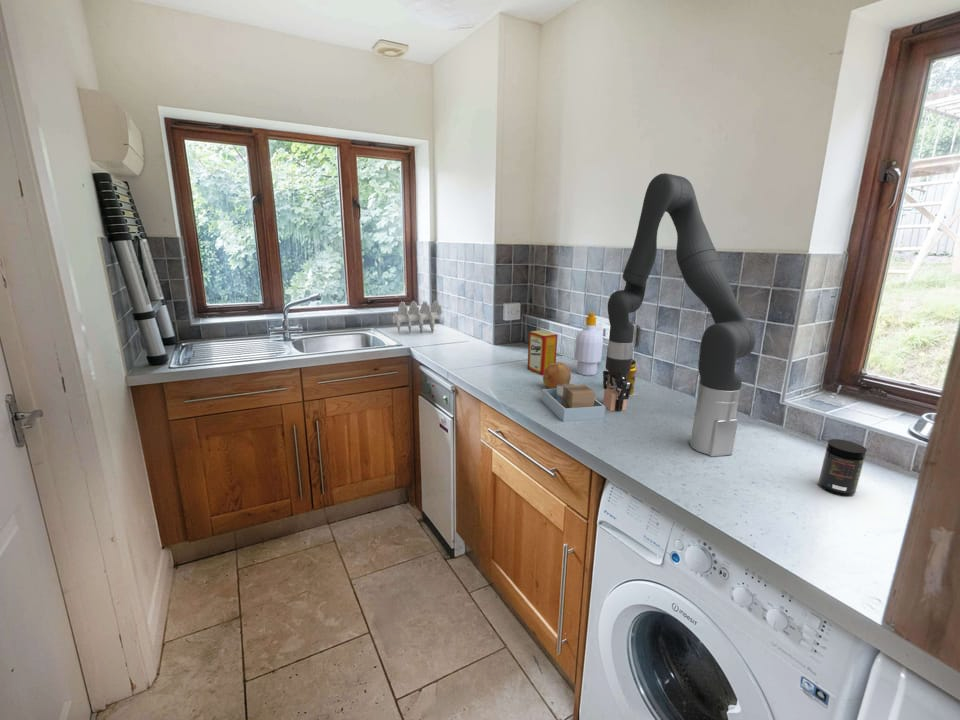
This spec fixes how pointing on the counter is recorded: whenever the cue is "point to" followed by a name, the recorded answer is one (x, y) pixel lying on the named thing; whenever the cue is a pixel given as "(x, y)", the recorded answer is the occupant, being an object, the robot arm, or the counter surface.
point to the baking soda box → (541, 350)
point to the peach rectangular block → (611, 399)
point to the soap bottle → (588, 347)
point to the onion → (556, 375)
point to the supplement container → (842, 467)
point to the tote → (572, 413)
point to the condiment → (631, 377)
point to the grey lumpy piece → (417, 314)
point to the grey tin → (560, 392)
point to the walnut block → (577, 396)
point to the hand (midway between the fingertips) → (613, 407)
